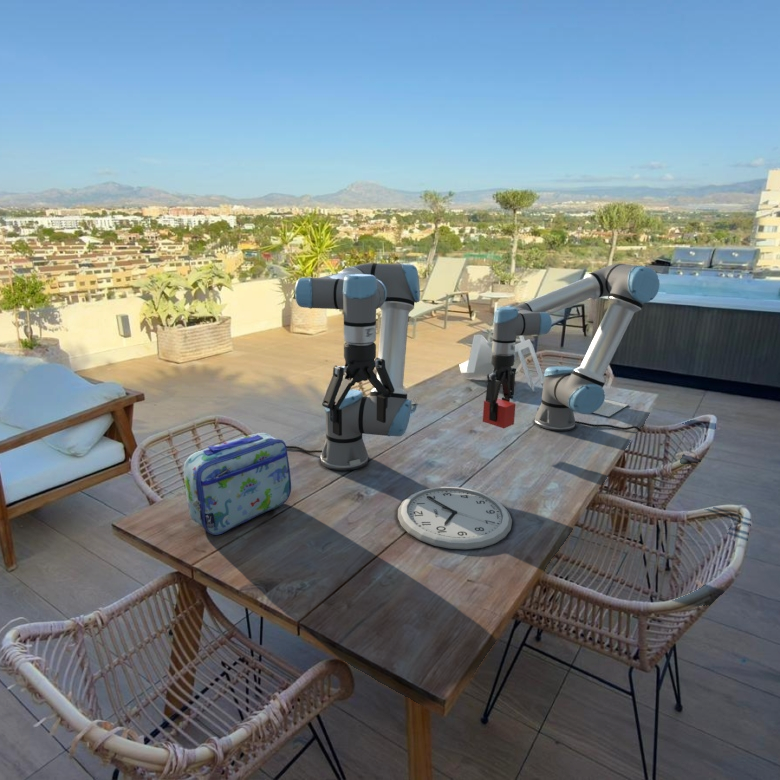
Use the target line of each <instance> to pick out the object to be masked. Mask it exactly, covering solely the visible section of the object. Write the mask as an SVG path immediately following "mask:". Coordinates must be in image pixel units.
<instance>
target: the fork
mask: <svg viewBox="0 0 780 780" xmlns="http://www.w3.org/2000/svg"><path fill="white" fill-rule="evenodd" d="M418 398H419V397H418V396H413V397H412V398H411V402H412V405H416V404H417V402H418Z"/></svg>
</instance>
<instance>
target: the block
mask: <svg viewBox="0 0 780 780" xmlns="http://www.w3.org/2000/svg"><path fill="white" fill-rule="evenodd" d="M496 403H498V411H497V421H496V422H495V421H492V420H489V413H490V411H489V408H490V403H489V402H486V400H484V401H483V409H482V410H483V411H482V413H483V414H482V423H485V424H488V425H492V426H495V427H498V428H501V429H506V428H508V427H511V426H514V425H515V417H516V403H515V402H512V401H510V402H508V401H505V400H502V398H499V397H498V398H497V402H496Z"/></svg>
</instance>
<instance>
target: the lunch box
mask: <svg viewBox="0 0 780 780" xmlns="http://www.w3.org/2000/svg"><path fill="white" fill-rule="evenodd" d="M286 446H287V445H286V442H285V441H284V440H282V439H280V438H275V437H274V436H272V435H271V434H270V433H267V432H257V433H253V434H249V435H244V436H242V437H237V438H235V439H232V440H231V439H230V440H227V441H225V442H221V443H218V444H216V445H209V446H208V447H206V448H204V449H201V450H198V451H196V452H193V453H192V454H190V455H189V456H188V458H187V459H186V460H185V462H184V465H183V477H184V478H183V479H184V486H185V493H186V501H187V507H188V513H189V516H190V518H191V520H192V521H193V522H195V523H197V525H200V527H202V528H203V529H204V530H205V531H206V532H207V533H209V534H210V535H213V536H219V535H221V534H223V533H225V532H227V531H229V530H231V529H233V528H235V527H237V526H240V525H242V524H244V523H246V522H248V521H250V520H251V519H254V518H255V517H258V516H260V515H263V514H265V513H266V512H269V511H271V510H272V511H273V510H274V509H276V508H279V507H280V506H282V505H284V504H285V503H286V502H287V501H288V500H289V498H290V496H291V493H292V478H291V470H290V469H291V468H290V462H289V457H288V448H286Z"/></svg>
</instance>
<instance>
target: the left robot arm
mask: <svg viewBox="0 0 780 780" xmlns="http://www.w3.org/2000/svg"><path fill="white" fill-rule="evenodd" d="M294 296H295V297H294V298H295V302H296V304H297V305H298V307H300V308H305V309H311V310H312V309H325V310H326V309H327V310H343V341H344V342H345V343H343V359H344V361H345V363H344V366H342V365H341V366H339V365H334V366H333V368H332V376H331V379H330V382H329V383H328V384H329V385H328V387H327V390H326V393H325V395H324V397H323V400H322V402H321V406H322V407H324V412H325V441H324V444H323V448H322V449H319V450H318V449H314V450H308V449H305V448H302V447H299V446H295V445H286V448H287V449H296V450H300V451H302V452H304V453H309V454H310V453H311V454H313V453H314V454H315V453H321V454H320V463H321V465H322V466H323V467H325V468H326V469H330V470H333V471H337V472H338V471H340V472H347V471H355V470H359V469H361V468H363V467H364V466H366V465H367V464H368V462H369V453H368V451H367V448H366V445H365V442H364V439H363V435H374V436H386V437H401V436H403V435H404V434H406V431H407V429H408V426H409V422H410V418H411V412H412V405H413V404H412V402H411V400H412V399H411V400H410V399H409V398H408V393H407V392H406V390H404V382H405V381H404V380H405V366H406V354H407V341H408V330H409V329H408V328H409V317H410V312H412V311H413V310H414V309H415V304H417V303H419V302H420V301H421V286H420V276H419V271H418V268H417V267H416V266H415V265H414V264H408V263H407V264H406V263H380V262H379V263H378V262H367V263H361V264H355V265H352V266H348V267H345V268H343V269H341V270H340V271H339V272H337V273H334V274H328V275H325V276H319V277H311V276H308V277H300V278H298V279H297V281H296V283H295V287H294ZM378 309H380V310H381V316H380V326H379V327H380V329H379V340H378V352H377V344H376V343H375V342H376V340H377V310H378ZM377 354H378V355H377ZM374 370H376V373H375V372H374ZM367 381H368V382H369V383H370V384H371V385H372V387H373V388H372V389H371V390H370V392H369V396H364V393H363V392H362V391H361V390H359V389H354V388H353V389H352V387H354V386H355V384H356V383H361V382H367Z"/></svg>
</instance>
